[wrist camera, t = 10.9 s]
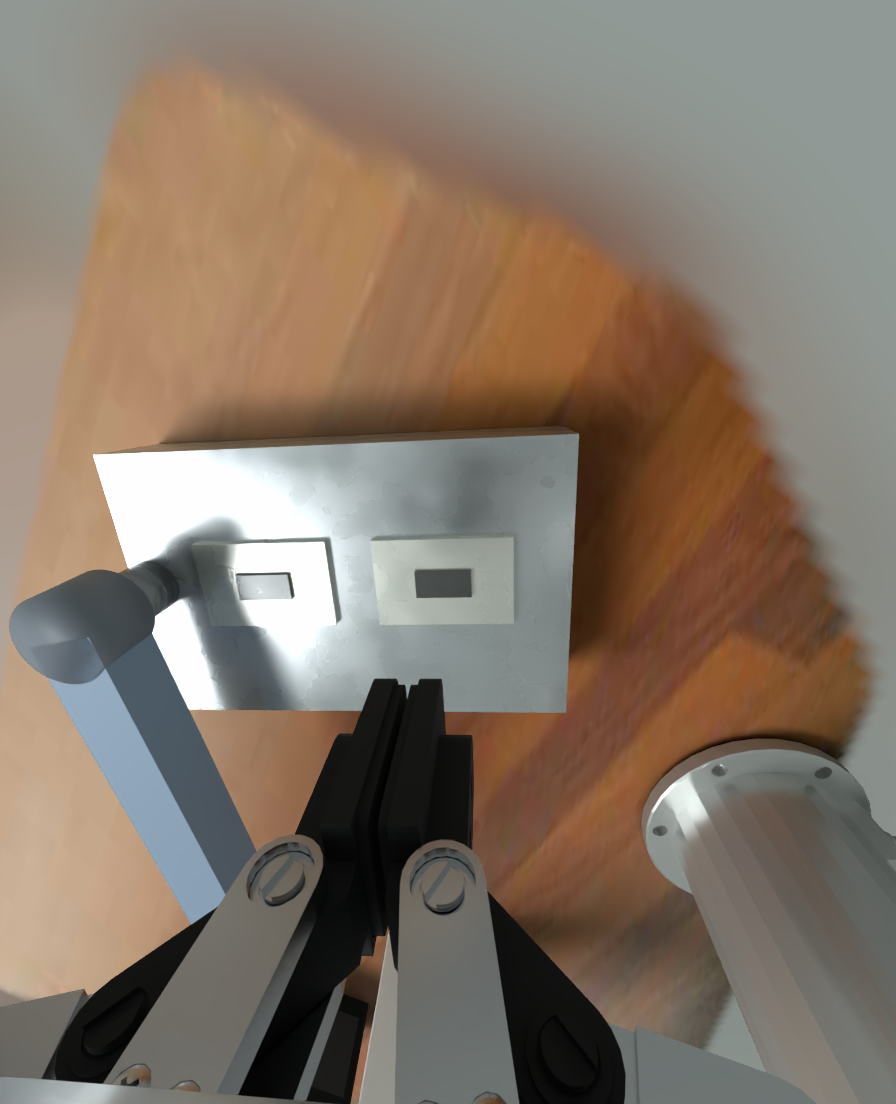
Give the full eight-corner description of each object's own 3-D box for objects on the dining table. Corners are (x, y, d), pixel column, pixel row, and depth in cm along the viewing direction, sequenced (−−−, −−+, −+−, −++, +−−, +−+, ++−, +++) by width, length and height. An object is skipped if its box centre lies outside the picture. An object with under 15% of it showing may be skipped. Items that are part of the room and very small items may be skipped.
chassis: (562, 425, 21) (592, 439, 15) (553, 664, 25) (574, 747, 20) (154, 444, 23) (40, 463, 17) (212, 664, 27) (138, 740, 21)
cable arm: (57, 576, 18) (-14, 607, 16) (135, 561, 18) (74, 591, 15) (234, 910, 25) (204, 971, 22) (295, 906, 24) (272, 968, 22)
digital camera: (376, 996, 38) (353, 1124, 31) (352, 1027, 39) (326, 1154, 33) (259, 951, 37) (211, 1074, 30) (241, 985, 39) (191, 1108, 32)
